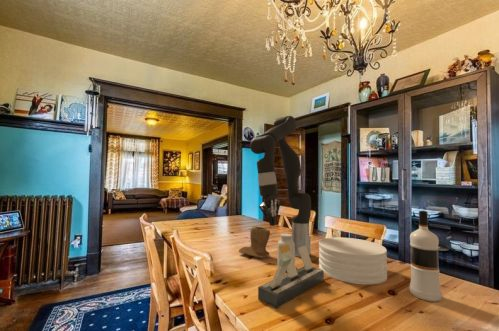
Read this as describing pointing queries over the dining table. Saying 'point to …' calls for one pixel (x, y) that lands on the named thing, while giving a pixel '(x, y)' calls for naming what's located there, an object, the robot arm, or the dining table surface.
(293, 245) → the pill bottle
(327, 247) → the plate stack
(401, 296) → the dining table surface
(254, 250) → the brown boot
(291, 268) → the lever amber
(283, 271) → the lever sage
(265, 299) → the switch strip
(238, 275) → the dining table surface
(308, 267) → the lever slate
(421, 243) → the vodka
